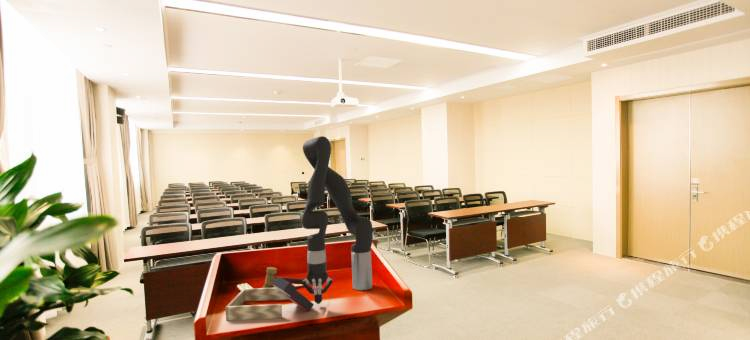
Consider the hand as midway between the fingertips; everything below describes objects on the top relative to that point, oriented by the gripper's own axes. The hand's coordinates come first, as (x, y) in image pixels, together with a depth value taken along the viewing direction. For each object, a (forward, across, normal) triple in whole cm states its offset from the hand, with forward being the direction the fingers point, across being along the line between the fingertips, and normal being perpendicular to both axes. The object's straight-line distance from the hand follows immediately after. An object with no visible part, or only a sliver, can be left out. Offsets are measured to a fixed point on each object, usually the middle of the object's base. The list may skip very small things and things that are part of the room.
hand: (318, 303), depth 152 cm
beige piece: (+2, +23, -1) cm, 23 cm away
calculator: (0, +5, 0) cm, 5 cm away
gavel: (+3, +19, -24) cm, 31 cm away
